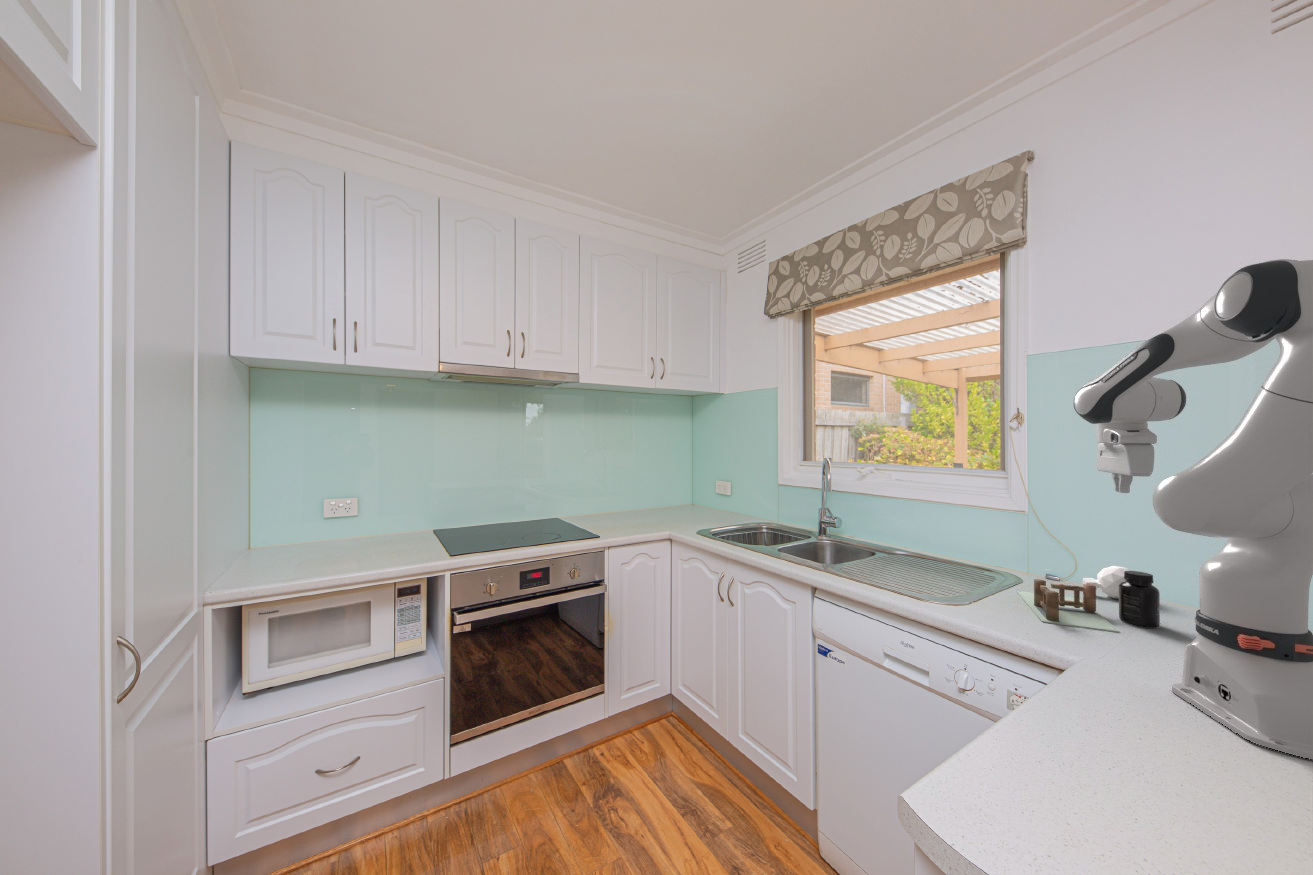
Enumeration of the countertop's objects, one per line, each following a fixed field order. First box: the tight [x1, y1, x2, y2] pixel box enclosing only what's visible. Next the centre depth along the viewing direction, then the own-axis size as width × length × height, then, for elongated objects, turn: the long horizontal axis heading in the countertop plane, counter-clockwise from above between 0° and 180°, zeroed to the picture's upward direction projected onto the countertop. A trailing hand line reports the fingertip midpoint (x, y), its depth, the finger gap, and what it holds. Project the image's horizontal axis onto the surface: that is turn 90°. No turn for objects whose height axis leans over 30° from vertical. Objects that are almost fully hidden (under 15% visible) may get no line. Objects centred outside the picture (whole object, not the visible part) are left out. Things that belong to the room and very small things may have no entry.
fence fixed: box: [1033, 578, 1059, 622], centre depth 117 cm, size 12×2×7 cm, turn 154°
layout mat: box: [1016, 590, 1121, 633], centre depth 119 cm, size 24×14×1 cm, turn 154°
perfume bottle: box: [1082, 565, 1132, 600], centre depth 128 cm, size 9×9×12 cm
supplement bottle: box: [1118, 570, 1161, 629], centre depth 111 cm, size 7×7×12 cm
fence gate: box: [1050, 583, 1097, 612], centre depth 118 cm, size 9×2×6 cm, turn 65°
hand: (1122, 492), depth 113 cm, fingers closed
